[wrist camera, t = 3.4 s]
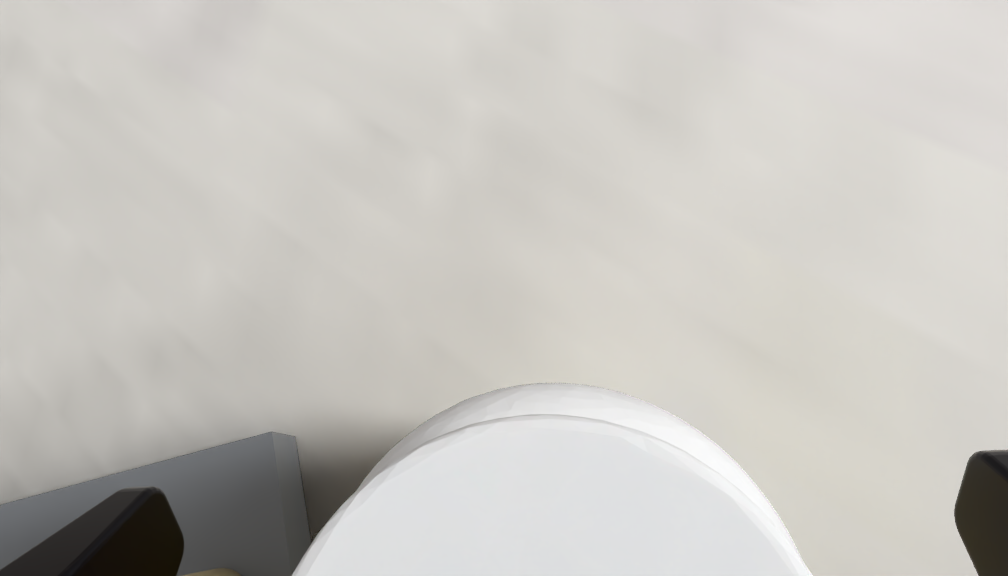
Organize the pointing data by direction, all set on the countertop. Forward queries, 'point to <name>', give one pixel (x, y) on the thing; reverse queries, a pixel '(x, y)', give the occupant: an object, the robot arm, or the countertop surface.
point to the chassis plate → (195, 508)
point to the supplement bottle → (555, 496)
